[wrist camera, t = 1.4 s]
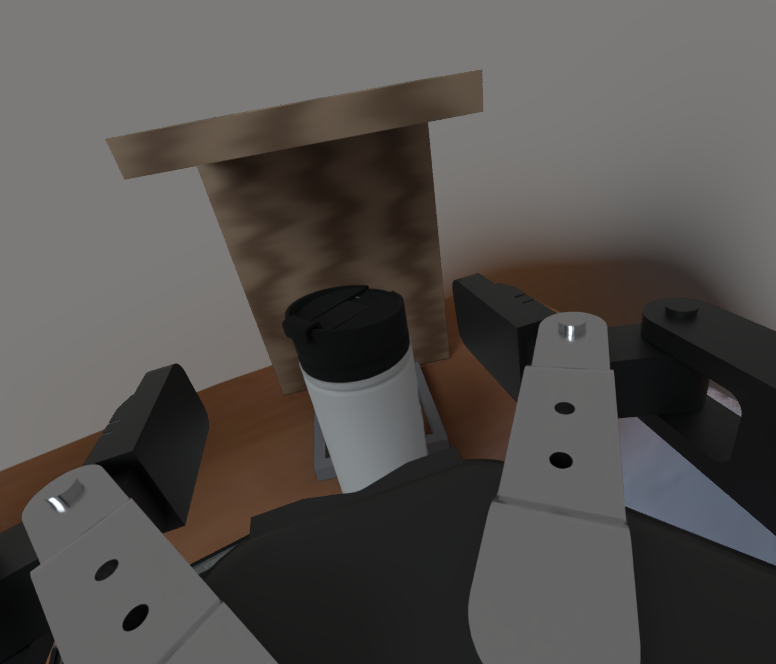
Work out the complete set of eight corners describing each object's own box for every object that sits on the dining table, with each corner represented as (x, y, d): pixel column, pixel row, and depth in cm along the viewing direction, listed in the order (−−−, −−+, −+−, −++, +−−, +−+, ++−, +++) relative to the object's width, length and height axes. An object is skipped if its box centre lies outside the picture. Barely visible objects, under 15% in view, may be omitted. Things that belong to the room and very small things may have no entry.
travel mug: (338, 540, 31) (250, 313, 20) (391, 478, 35) (341, 262, 24) (402, 590, 27) (337, 344, 16) (454, 514, 31) (427, 278, 20)
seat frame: (318, 481, 36) (314, 470, 35) (317, 395, 46) (314, 385, 45) (449, 450, 36) (448, 438, 35) (419, 372, 46) (418, 362, 46)
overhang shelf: (273, 491, 35) (105, 138, 21) (284, 384, 49) (187, 122, 34) (492, 440, 36) (481, 69, 22) (445, 348, 50) (418, 79, 35)
